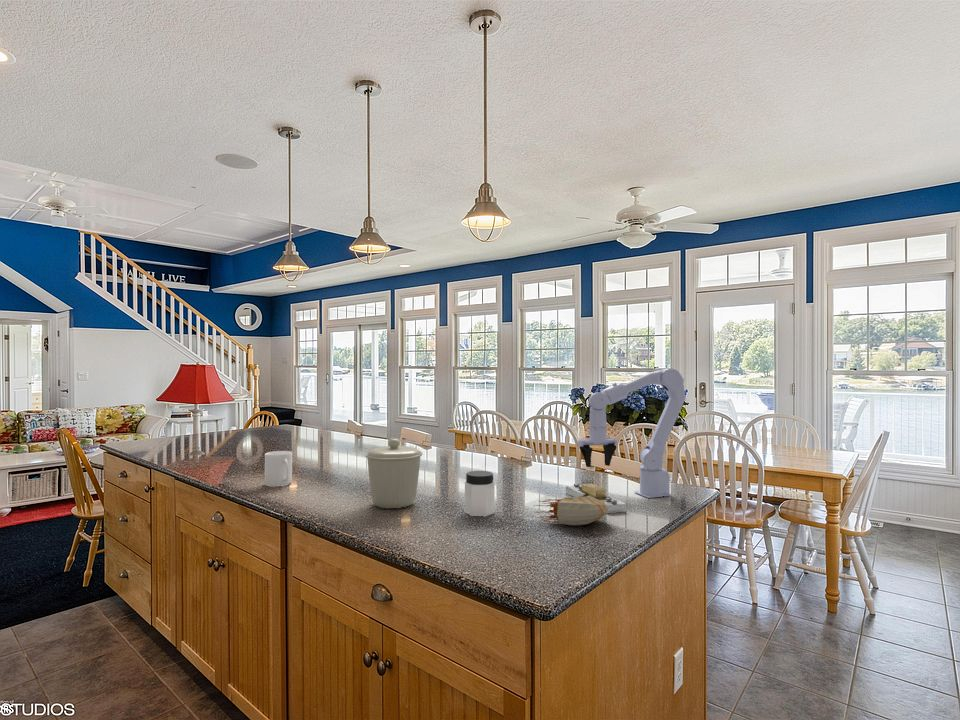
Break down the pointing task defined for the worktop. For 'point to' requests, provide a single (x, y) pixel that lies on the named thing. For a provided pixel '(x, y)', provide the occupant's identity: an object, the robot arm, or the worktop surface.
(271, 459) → the mug
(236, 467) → the worktop surface
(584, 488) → the tan wooden block
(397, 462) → the canister
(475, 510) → the jar
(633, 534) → the worktop surface
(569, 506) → the nautilus
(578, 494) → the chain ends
